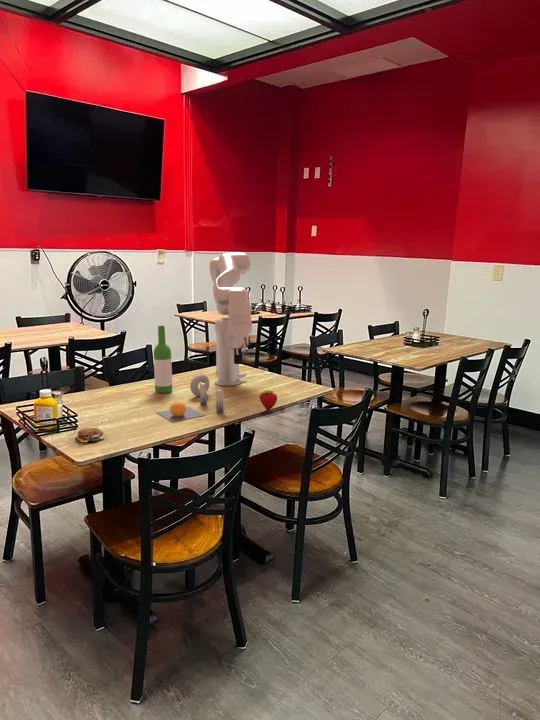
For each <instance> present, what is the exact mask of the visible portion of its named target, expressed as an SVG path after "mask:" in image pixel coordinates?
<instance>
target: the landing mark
mask: <svg viewBox="0 0 540 720" xmlns="http://www.w3.org/2000/svg"><path fill="white" fill-rule="evenodd" d="M185 407H186V411H185V413H184V415H183V416H181V417H175V416H173V415H172V414H171V412H170V409H169V410H162V411H157V412H156V414H158V415H159V416H161V417H162V418H164V419H166V420H167V421H169V422H171V423H175V422H180V421H185V420H191V419H195V418H200V417H205V416H206V415H205V414H204V413H201V412H200V411H197V410H195V409H194V408H192V407H190V406H185Z"/></svg>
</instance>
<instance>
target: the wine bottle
mask: <svg viewBox="0 0 540 720" xmlns="http://www.w3.org/2000/svg"><path fill="white" fill-rule="evenodd" d="M157 332H158V333H157V337H158V339H157V340H158V343H157V345H156V346H155V347H154V349H153V369H154V370H153V371H154V390H155V393H158V394H168V393H171V392H172V391H173V371H172V370H173V369H172V367H173V366H172V349H171V348H170V346H169V345H167V343H166V328H165V325H158V326H157Z"/></svg>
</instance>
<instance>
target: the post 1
mask: <svg viewBox="0 0 540 720" xmlns="http://www.w3.org/2000/svg"><path fill="white" fill-rule="evenodd" d="M199 389H200V396H199V398H200V399H199V403H200V406H207V405H208V391H207V383H202V382H199Z"/></svg>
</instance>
